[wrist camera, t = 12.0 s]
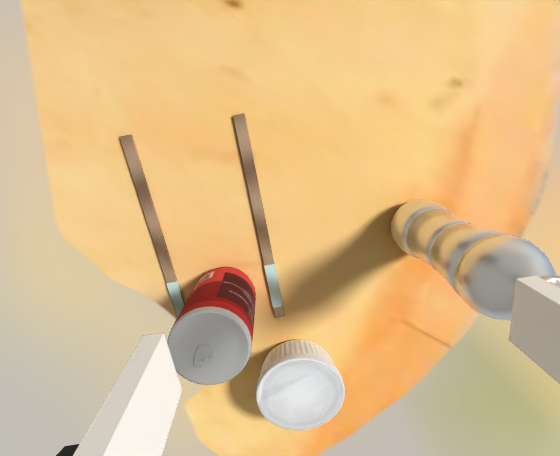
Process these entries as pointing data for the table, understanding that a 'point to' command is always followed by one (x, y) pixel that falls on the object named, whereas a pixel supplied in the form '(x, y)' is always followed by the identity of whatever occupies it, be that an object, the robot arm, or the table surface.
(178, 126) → the table surface
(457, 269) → the plastic bottle
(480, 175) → the table surface
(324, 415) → the ramekin
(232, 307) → the canned food
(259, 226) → the guide strips
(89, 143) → the table surface
